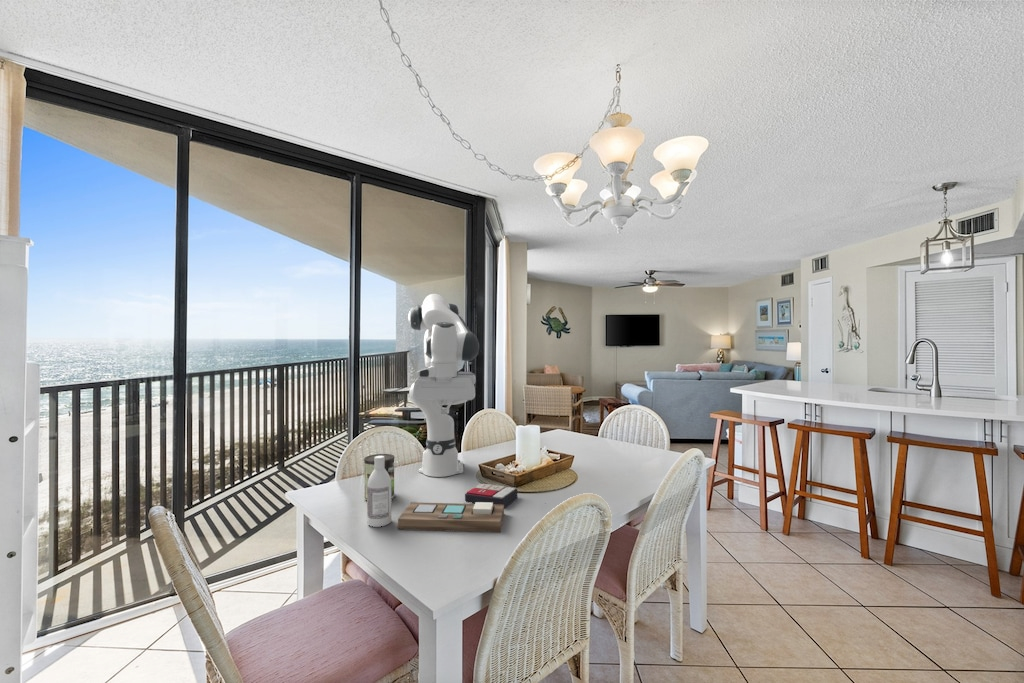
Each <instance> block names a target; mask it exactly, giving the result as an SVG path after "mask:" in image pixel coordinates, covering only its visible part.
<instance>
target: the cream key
mask: <svg viewBox="0 0 1024 683" xmlns="http://www.w3.org/2000/svg"><path fill="white" fill-rule="evenodd" d="M492 511H493V503H491V502H475V505H474V507H473V514H483V515H491V514H492Z"/></svg>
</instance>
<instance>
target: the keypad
mask: <svg viewBox="0 0 1024 683" xmlns="http://www.w3.org/2000/svg"><path fill="white" fill-rule="evenodd" d="M418 505H436V509H435V511H434V513H414V511H415V510H416V508H417V507H418ZM447 505H456V506H465V510H464V512H463V514H443V512H444V510H445V508H446V507H447ZM474 505H475V504H474V503H461V502H460V503H458V502H457V503H453V502H449V503H448V502H415V501H414V502H413V501H412V502H410V503H409V504H408V506H407V507H406V508H405V509H404V511H402V513H401V514H400V516H399V517H398V518H397V529H398V530H409V529H420V531H446V530H450V531H451V530H452V531H453V530H454V531H453V532H482V531H487V533H491V532H492V533H494V532H495V533H501V531H502V526H503V520H504V515H505V508H504V505H502V504H493V511H492V514H491V515H483V514H473V507H474ZM452 531H451V532H452ZM488 531H490V532H488Z"/></svg>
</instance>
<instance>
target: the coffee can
mask: <svg viewBox="0 0 1024 683" xmlns="http://www.w3.org/2000/svg"><path fill="white" fill-rule="evenodd" d="M376 456H384V457H385V467H384V468H385V470H386V471H387V472H388V474H389V476H390V478H391V498H392V499H394V497H395V455H393V454H390V453H376V454H371V455H367V456H365V457H363V461H364V463H363V466H364V468H363V469H364V470H363V472H364V479H363V480H364V481H363V482H364V483H363V484H364V493H363V494H364V497H363V498H365V500H367V485H368V480H369V477H370V475H371V474H372V472H373V471H374V469H375V468H374V458H375V457H376ZM365 500H364V501H365Z"/></svg>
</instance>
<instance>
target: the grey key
mask: <svg viewBox="0 0 1024 683" xmlns="http://www.w3.org/2000/svg"><path fill="white" fill-rule="evenodd" d="M435 509H436V505H418V507H417V508H416V510H415V511H414V513H434V511H435Z"/></svg>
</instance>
